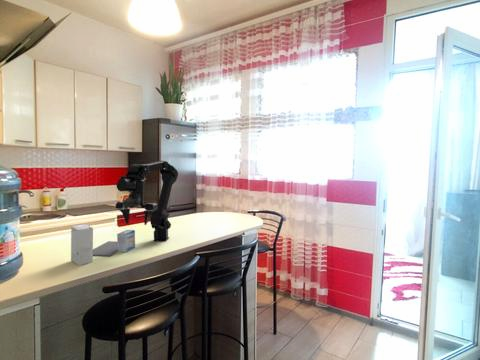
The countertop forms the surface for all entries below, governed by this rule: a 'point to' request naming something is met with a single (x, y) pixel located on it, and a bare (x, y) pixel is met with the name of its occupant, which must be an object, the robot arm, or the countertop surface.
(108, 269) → the countertop surface
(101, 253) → the mat
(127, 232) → the medicine box
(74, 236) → the skincare box
